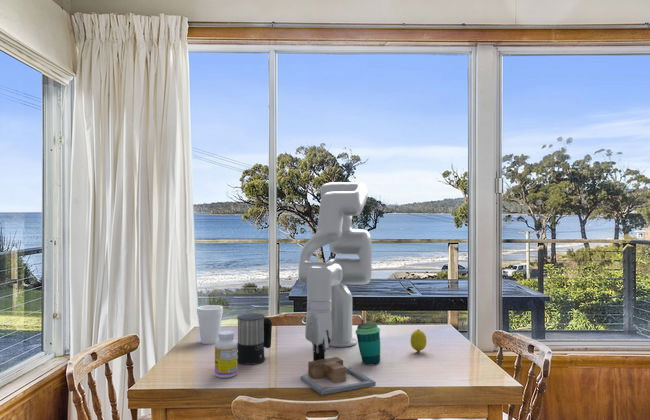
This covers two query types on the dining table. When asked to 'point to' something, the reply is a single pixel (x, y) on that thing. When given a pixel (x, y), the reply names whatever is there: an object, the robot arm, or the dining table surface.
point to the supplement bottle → (226, 355)
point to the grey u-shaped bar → (321, 390)
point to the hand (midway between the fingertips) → (319, 364)
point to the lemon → (418, 340)
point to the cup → (369, 343)
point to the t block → (328, 369)
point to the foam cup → (209, 322)
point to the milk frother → (253, 337)
